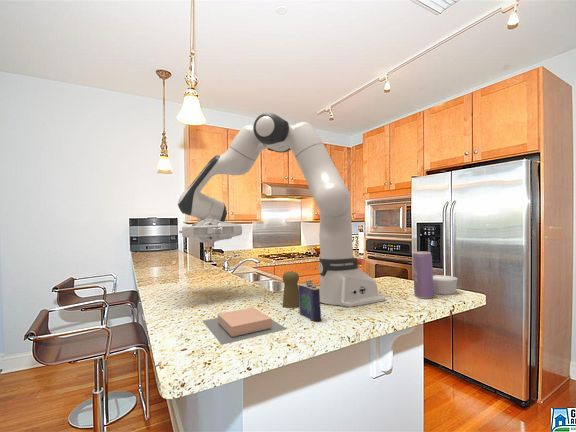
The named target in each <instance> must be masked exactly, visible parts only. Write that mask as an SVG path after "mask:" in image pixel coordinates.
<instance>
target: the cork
mask: <svg viewBox="0 0 576 432" xmlns="http://www.w3.org/2000/svg"><path fill="white" fill-rule="evenodd" d="M299 279H300V275H299V274H298V272H296V271H287V272H284V273H283V274H282V282H283V284H284V285H283V286H284V287H283V297H282V307H283V308H285V309H297V308H299V288H298V285H299V284H298V282H299V281H300V280H299Z"/></svg>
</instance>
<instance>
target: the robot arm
mask: <svg viewBox="0 0 576 432" xmlns="http://www.w3.org/2000/svg"><path fill="white" fill-rule="evenodd" d="M266 149H267V150H268V151H271V152H276V153H288V152H290V151H291V152H292V155H293V156H294V158H295V161H296V163H297V166H299V169H300V171H301V173H302V175H303V178H304V179H305V181H306V184H307V187H308V188H309V192H310V193H311V196H312V198H313V201H314V203H315V205H316V207H317V209H318V210H319V235H318V236H319V252H320V254H319V257H320V258H318V271H319V275H320V277H319V278H320V279H319V287H318V288H319V291H320V292H319V294H320V303H323V304H325V305H333V306H334V305H335V306H343V307H346V308H347V307H351V308H352V307H357V306H362V305H367V304H373V303H378V302H383V301H386V299H387V298H386V296H385V295H384V294H382V293H381V292H379V290H378V286H377V282H376V280H375V279H374V278H372V276H370V275H368V274H367V273H366V272H364V270H362V269H361V268H359V266H363V265H364V264H365V261H364V260H365V259H362V258H356V257H354V250H353V230H352V228H353V227H352V212H351V209H352V208H351V194H350V191H349V190H348V188H347V186H346V184H345V182H344V181H343V179H342V176H341V175H340V173H339V171H338V168H336V165H335V163H334V162H333V160H332V158H331V156H330V154H329V152H328V150H327V148H326V146H325V144H324V142H323V140H322V138H321V137H320V135H319V133H318V132H317V131H316V129H315V128H314V126H313V125H312V124H310V122H308V121H300V122H297V123H295V124H293V125H290V124H289V122H288V120H285V119H284V118H282V117H281V116H279V115H277V114H275V113H271V112H264V113H261V114H259V116H258V117H256V119H255V120H254V123H253V124H246V125H244V126H243V127H242V128H241V129H240V130H239V131H238V133H236V135H235V136H234V138H233V139H232V142H231V143H230V145H229V146H228V149H226V151H225V152H223V153H222V154H220V155H217V154H216V155H214V156H213V157H212V158H211V159H210V160H209V161H208V162H207V164H206V165H205V166H204V167H203V169H202V170H201V171H200V172H199V173H198V175H197V177H196V178H195V179H194V180H193V181H192V183H191V184H190V186H188V188H186V190H185V191H184V192H182V193H181V195H180V197H179V199H178V201H177V207H178V209H179V211H180V212H181V214H183V215H186V216H191V217H193V218H196V219H199V220H198V221H195V222H194V223H193V224H192V225H184V226H182V227H181V230H179V231H178V233H179V234H181V235H182V238H192V239H193V240H194V241H196V242H199V243H201V244H202V243H204V244H213V243H216V242H219V241H224V240H231V239H233V238H235V237H238V236H242V234H243V226H242V224H240V223H232V221H226V218H227V216H228V215H227V214H228V210H227V206H226V204H225V203H224V202H222V201H220V200H218V199H216V198H213V197H210V196H209V195H206V194H204V193H202V192H201V191H202V190H203V189H204V187H205V186H206V185H207V184H208V182H209V181H210V180H211V179H212V177H214V176H217V175H228V176H242V175H246V174H247V173H248V172H250V171H251V169H252V168H253V166H254V165H255V163H256V160H257V159H258V157H259V155H260V154H261V152H262V151H263V150H266Z"/></svg>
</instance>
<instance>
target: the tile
mask: <svg viewBox="0 0 576 432" xmlns="http://www.w3.org/2000/svg"><path fill="white" fill-rule="evenodd" d="M217 318H218V323H219V324H220V325H221V326H222V327H223V328H224V329H225V330H226V331H227V332H228V333H229V334H230V335H231V336H232V337H235V336H240V335H244V334H248V333H253V332H257V331H262V330H266V329H269V328H272V320H273V319H272V318H271V317H270V316H268V315H267V314H265V313H263V312H261V310H258V309H257V308H255V307H253V306H252V307H247V308H242V309H237V310H231V311H230V310H229V311H226V312H225V311H224V312H221V313H217Z"/></svg>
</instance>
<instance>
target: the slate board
mask: <svg viewBox="0 0 576 432" xmlns="http://www.w3.org/2000/svg"><path fill="white" fill-rule="evenodd" d="M202 322H203V323H204V324H205V327H206V328H208V330H209V331H210V332H211V333H212V335H213V336H214V337H215V338H216V339H217V341H218V342H219V344H220V345H221V346H222V345H227V344H231V343H235V342H239V341H243V340H246V339H247V340H249V339H251V338H255V337H259V336H264V335H268V334H273V333H276V332H280V331H285V330H288V328H287V327H285V326H283V325H281V324H280V323H278V322H277V321H275V320H273V319H272V328H269V329H266V330H262V331H257V332H253V333H248V334H244V335H240V336H235V337H232V336H231V335H230V334H229V333H228V332H227V331H226V330H225V329H224V328H223V327H222V326H221V325H220V324H219V323H218V317H215V318H209V319H203V320H202Z"/></svg>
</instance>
